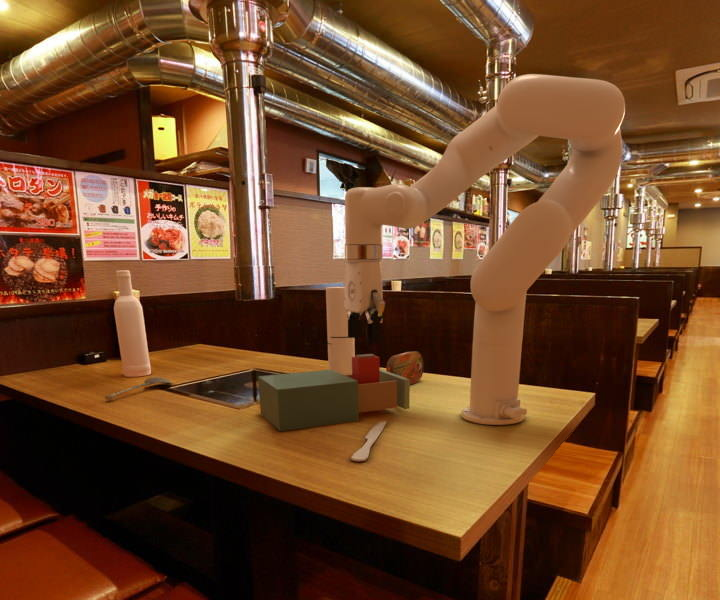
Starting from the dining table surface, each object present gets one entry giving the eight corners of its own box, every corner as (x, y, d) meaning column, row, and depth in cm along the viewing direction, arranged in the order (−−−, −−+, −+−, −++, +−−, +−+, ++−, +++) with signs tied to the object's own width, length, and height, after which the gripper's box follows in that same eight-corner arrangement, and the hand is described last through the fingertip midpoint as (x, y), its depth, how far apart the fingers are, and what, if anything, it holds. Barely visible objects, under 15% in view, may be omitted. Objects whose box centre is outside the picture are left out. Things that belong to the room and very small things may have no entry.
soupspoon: (178, 387, 153) (159, 386, 155) (176, 374, 152) (157, 374, 154) (118, 402, 133) (97, 401, 135) (115, 388, 132) (94, 387, 135)
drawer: (386, 395, 132) (386, 368, 130) (414, 408, 120) (414, 378, 118) (319, 403, 125) (318, 375, 123) (342, 417, 113) (341, 386, 111)
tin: (394, 390, 141) (394, 357, 139) (383, 388, 143) (383, 356, 141) (424, 380, 153) (425, 349, 150) (414, 379, 155) (415, 348, 152)
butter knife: (347, 458, 90) (365, 459, 90) (377, 420, 113) (391, 420, 112) (347, 461, 91) (365, 462, 90) (377, 422, 113) (391, 422, 112)
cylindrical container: (345, 386, 147) (343, 288, 139) (323, 383, 150) (320, 287, 142) (360, 381, 152) (358, 286, 144) (338, 379, 156) (336, 286, 148)
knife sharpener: (379, 401, 122) (379, 355, 118) (359, 403, 120) (358, 357, 116) (373, 397, 125) (372, 353, 121) (352, 400, 123) (351, 354, 120)
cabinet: (332, 405, 127) (331, 369, 125) (358, 420, 114) (358, 380, 112) (260, 414, 121) (257, 376, 118) (279, 431, 108) (277, 389, 105)
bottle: (145, 377, 164) (130, 270, 155) (119, 377, 164) (102, 270, 155) (155, 372, 172) (141, 270, 162) (130, 372, 172) (115, 270, 162)
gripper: (331, 255, 119) (333, 336, 124) (364, 254, 104) (364, 346, 109) (363, 255, 122) (363, 334, 127) (400, 254, 107) (398, 344, 112)
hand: (364, 340), depth 118 cm, fingers open, 9 cm apart
